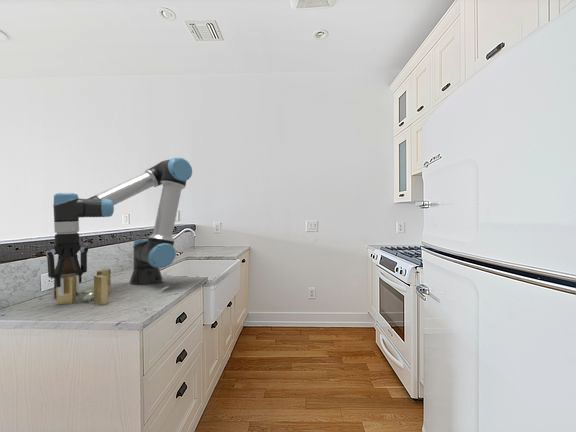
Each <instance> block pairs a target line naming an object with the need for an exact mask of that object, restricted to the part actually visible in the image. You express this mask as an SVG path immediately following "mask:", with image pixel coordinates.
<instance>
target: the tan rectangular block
mask: <svg viewBox="0 0 576 432" xmlns="http://www.w3.org/2000/svg"><path fill="white" fill-rule="evenodd" d="M61 278H63V280H64V295H63V296H60V295H58V287H56V298H55V300H56V305H70V304H71V305H72V304H75V303H76V302H77V295H76V275H61Z"/></svg>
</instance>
